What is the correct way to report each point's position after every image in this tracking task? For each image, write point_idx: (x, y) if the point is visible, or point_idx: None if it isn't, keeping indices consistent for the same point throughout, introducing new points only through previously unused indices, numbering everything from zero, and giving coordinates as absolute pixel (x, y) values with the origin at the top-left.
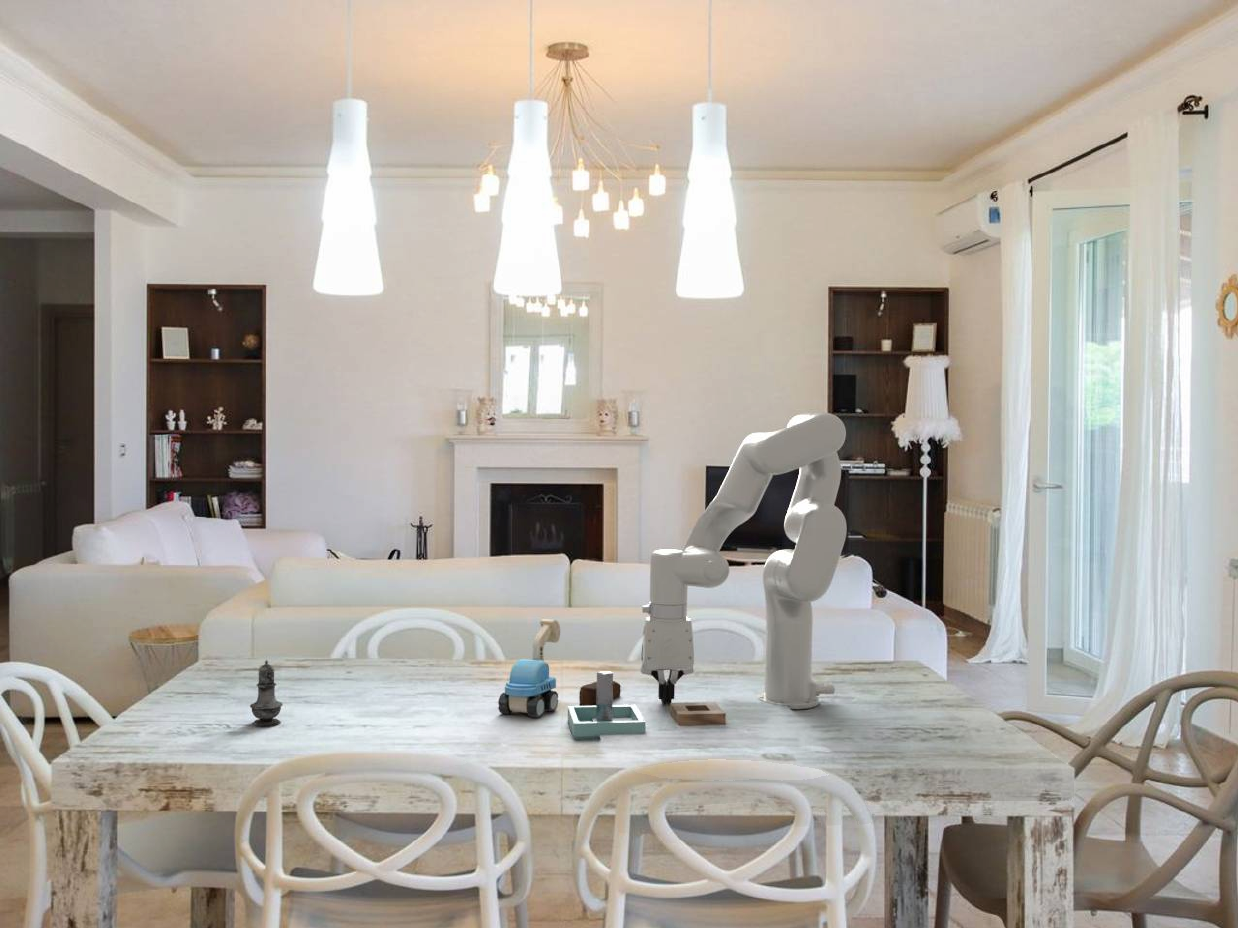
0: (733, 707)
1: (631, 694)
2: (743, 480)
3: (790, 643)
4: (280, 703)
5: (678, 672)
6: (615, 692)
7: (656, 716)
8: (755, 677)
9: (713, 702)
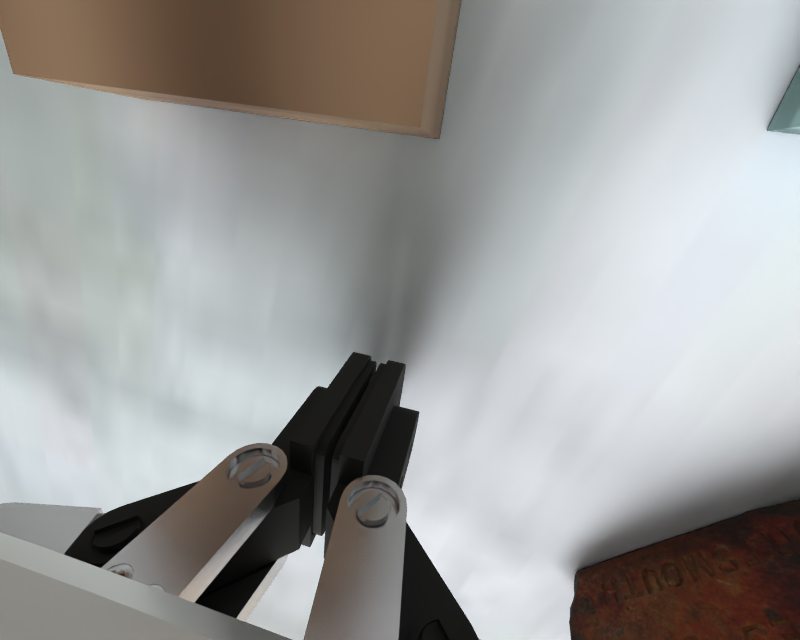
0: (59, 300)
1: None
2: None
3: None
4: None
5: (135, 553)
6: (634, 623)
7: (514, 220)
8: None
9: (28, 61)
